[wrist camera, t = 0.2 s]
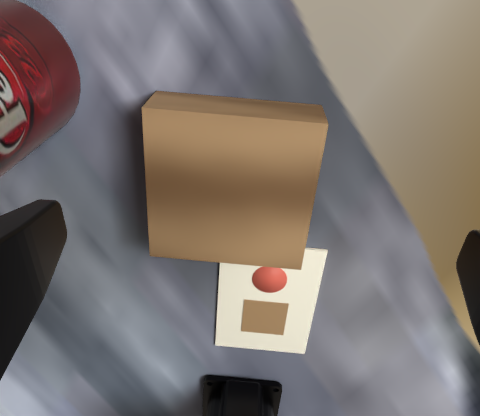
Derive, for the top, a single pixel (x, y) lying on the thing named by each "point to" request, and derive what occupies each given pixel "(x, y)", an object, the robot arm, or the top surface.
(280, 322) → the page
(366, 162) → the top surface
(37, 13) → the soda can
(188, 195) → the base brick
